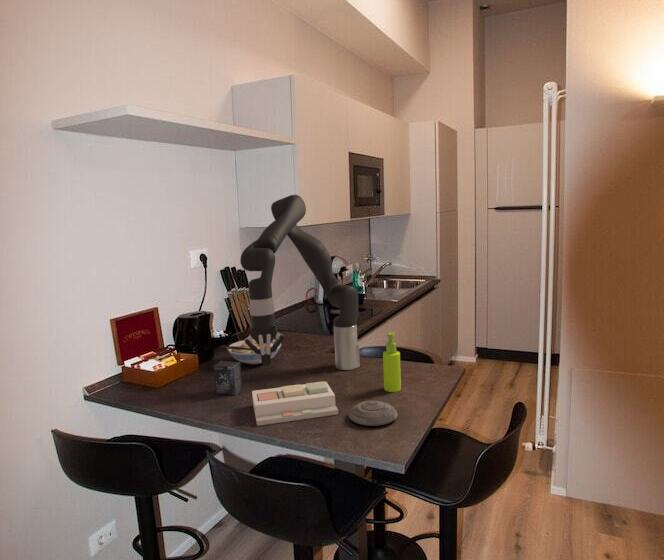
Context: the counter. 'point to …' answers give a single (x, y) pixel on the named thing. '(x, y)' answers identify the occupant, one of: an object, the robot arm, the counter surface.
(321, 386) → the sage key
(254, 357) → the ramen bowl
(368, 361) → the counter surface
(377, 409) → the flying saucer
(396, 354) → the soap dispenser
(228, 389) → the box
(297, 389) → the sand key
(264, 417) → the keypad
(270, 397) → the coral key
